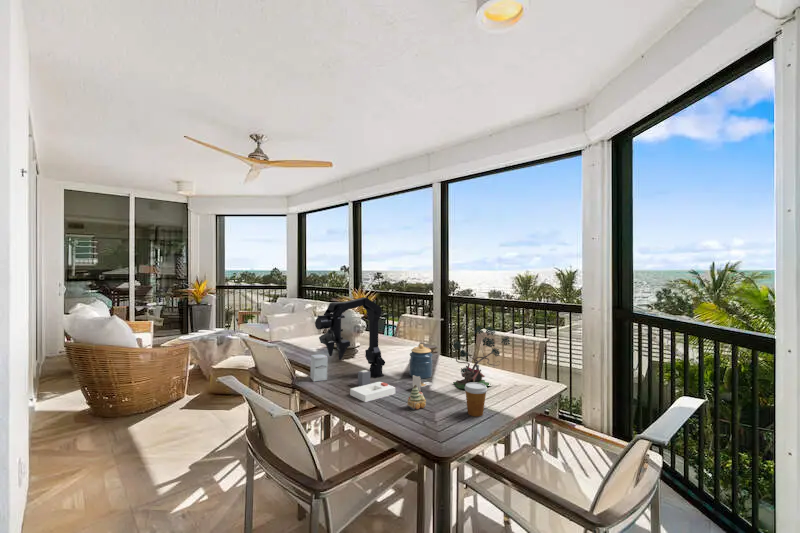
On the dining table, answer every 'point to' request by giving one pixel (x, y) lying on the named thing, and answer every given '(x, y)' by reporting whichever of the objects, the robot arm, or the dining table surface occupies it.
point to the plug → (363, 377)
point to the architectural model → (418, 382)
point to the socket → (372, 391)
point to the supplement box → (318, 367)
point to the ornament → (416, 399)
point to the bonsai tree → (473, 374)
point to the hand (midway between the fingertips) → (335, 357)
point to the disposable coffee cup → (475, 398)
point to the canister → (421, 362)
